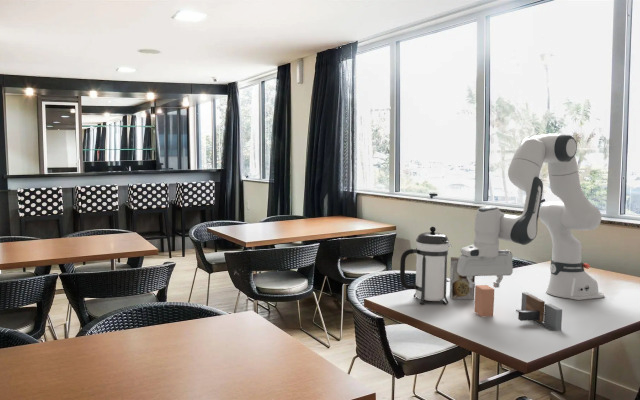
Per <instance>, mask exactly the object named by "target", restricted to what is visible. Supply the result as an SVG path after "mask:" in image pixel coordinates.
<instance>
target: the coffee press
mask: <svg viewBox="0 0 640 400" xmlns="http://www.w3.org/2000/svg"><path fill="white" fill-rule="evenodd" d="M436 230H437V229H436V227H435V226H431V227H430V228H429V232H428V231H427V232H421V233H420V234H418V236H417V237H416V239H415V242H416V248H414V249H413V248H410V249H406V250H405V251H403V253H402V254H401V256H400V263H399V280H400V284H401V285H402V286H403V288H405V289H408V290H415V293H414V294H413V298H415V299H417V298H418V299H420V300H419V305H422V306H423V305H425V303H426V302H427V301H429V302H431V301H432V302H437V301H439V302H440V301H441V303H442V304H443V305H444V306H445V305H448V304H449V301H448V300H449V299H447V285H448V284H447V283H448V282H447V280H448V256H449V248H452V244H451V243H450V240H449V238H448V236H447V235H446V234H445V233H442V232H441V233H440V232H436ZM412 254H416V261H415V263H416V265H415V283H414V284H408V283H407V282H406V279H405V277H406V258H407V257H408V256H409V255H412Z"/></svg>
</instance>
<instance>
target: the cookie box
mask: <svg viewBox="0 0 640 400" xmlns="http://www.w3.org/2000/svg"><path fill="white" fill-rule="evenodd" d="M459 257H460V256H459ZM459 257H458V256H457V257H453V256H452V257H451V256H450V268H449V270H450V273H449V274H450V275H449V279H450V280H449V297H450V298H451V300H475V288H470V287H469V281H468V279H467V276H461V275H460V274H459V273H458V272H457V267H458V260H459ZM475 279H476V276H473V279H471V280H472V282H474V283H475V284H476V282H475Z"/></svg>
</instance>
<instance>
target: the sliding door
mask: <svg viewBox="0 0 640 400" xmlns="http://www.w3.org/2000/svg"><path fill="white" fill-rule="evenodd" d="M532 295H533V294H531V295H526V311H519V312H518V316H517V317H518V318H517V319H518V320H519V322H520V321H521V322H523V321H533V320H537V321H539V322H543V323H544V310H545V304H546V302H545V300H542V299H540V298H538V297H537V296H535V295H533V296H532ZM534 296H535V297H534ZM536 297H537V298H536Z"/></svg>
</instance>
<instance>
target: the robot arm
mask: <svg viewBox="0 0 640 400" xmlns="http://www.w3.org/2000/svg"><path fill="white" fill-rule="evenodd" d="M577 151H578V144H577V141H576V139H575V138H574V137H573V136H572V135H571V134H568V133H567V134H566V133H561V134H559V133H546V134H538V135H534V134H533V135H529V136H526V137H524V138H523V139H522V140H521V141H520V144H519V146H518V147H517V149H516V150H515V153H514V154H513V156H512V159H511V161H510V164H509V167H508V170H507V177H508V179H509V181H510V182H511V183H512V184H513V185H514V186H515V187H516V188H518V189H520V190H522V191H524V192H525V194H526V195H525V202H524V205H523V211H522V213H521V214H520V215H513V214H506V213H504V212H502V211H501V210H500V208H499V207H498V206H497V205H491V204H490V205H483V206H480V207H478V208H477V210H476V214H475V219H474V228H473V229H474V233H475V235H474V239H473V243H472V244H470V245H466V246H464V247H461V248H460V250H459V251H460V252H459V253H460V254H461V255H460V256H459V260H458V267H457V272H458V273H459V274H460V275H461V276H467V279H468V281H469V287H470V288H474V289H475V285H476V282H475V283H474V282H472V280H471V279H473V276H475V277H485V276H486V277H491V276H492V277H493V276H495V277H496V279H495V281H493V283H492V284H493V285H492V286H493V288H494V289H495V288H500V284H501V282H502V280H503V279H504V276H512V274H513V271H514V270H513V268H514V267H513V266H514V265H513V253H512V251H510V250H508V249H504V250H503V249H502V250H501V249H500V240H502V241H506V242H510V243H515V244H520V245H522V246H525V245H528V244H530V243H532V241H534V239H536V236H537V235H538V220H539V221H540V222H541V223H542V224H543V225H544V226H545V227H546V229H547V230H548V232H549V235H550V238H551V245H552V249H551V250H552V251H551V258H552V259H550V266H549V267H550V276H549V277H550V278H549V282H548V285H547V288H546V290H545V292H546V293H547V294H548V295H551V296H554V297H558V298H564V299H570V300H575V301H576V300H577V301H580V300H581V301H583V300H590V299H600V298H605V294H604V293H603V292H602V291H599V284H598V282H597V280H596V278H593V277H592V276H591V275H590V274H588V272H586V271H585V269H590V267H591V265H590V264H589V263H586V262H585V263H583V262H582V252H583V251H582V249H583V246H582V243H581V241H580V240H579V239H577V237H575V236H574V235H573V232H572V230H574V231H575V230H576V231H582V232H583V231H594V230H596V229H598V227H599V226H600V225H601V222H602V213H601V211H600V209H599V208H598V207H596V206H595V205H594V204H593V203H592V202H590V200H588V198H587V196H586V195H585V194H584V191H583V189H582V186H581V181H580V175H579V168H578V163H577V158H576V153H577ZM544 163H547V171H548V173H547V174H548V180H549V187H550V191H551V192H552V194H553V195H554V196H556V197H558V198H559V200H560V201H556V200H555V201H547V202H544V203H543V204H541V203H542V200H543V199H542V198H543V191H544V183H543V180H542V179H541V178H540V173H541V170H542V168H543V164H544ZM538 218H539V219H538Z"/></svg>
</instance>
